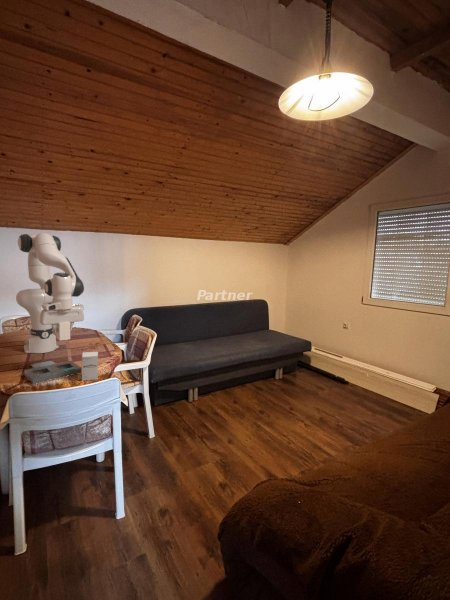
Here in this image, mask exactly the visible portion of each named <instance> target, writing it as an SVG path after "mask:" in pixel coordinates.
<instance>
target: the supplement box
mask: <svg viewBox="0 0 450 600" xmlns="http://www.w3.org/2000/svg"><path fill="white" fill-rule="evenodd" d="M98 365H99V351H84V352H82V353H81V382H84V381H96V380H98V378H99V377H98V376H99V374H98V373H99V370H98V369H99V366H98Z"/></svg>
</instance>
